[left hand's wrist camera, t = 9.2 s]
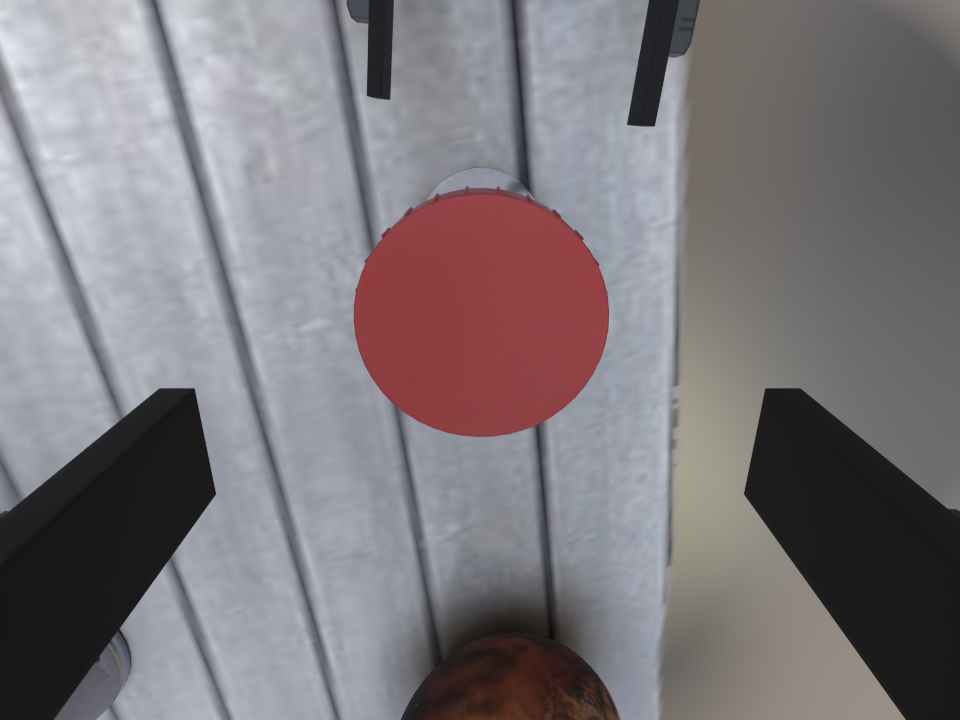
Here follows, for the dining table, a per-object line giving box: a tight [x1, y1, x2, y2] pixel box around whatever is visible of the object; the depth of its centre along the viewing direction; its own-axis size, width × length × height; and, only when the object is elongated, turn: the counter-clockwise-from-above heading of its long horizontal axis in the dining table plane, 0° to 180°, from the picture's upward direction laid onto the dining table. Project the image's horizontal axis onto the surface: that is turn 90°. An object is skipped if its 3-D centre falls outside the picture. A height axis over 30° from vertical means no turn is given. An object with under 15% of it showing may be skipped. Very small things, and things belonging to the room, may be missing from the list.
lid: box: [354, 186, 609, 437], centre depth 22 cm, size 9×9×2 cm
